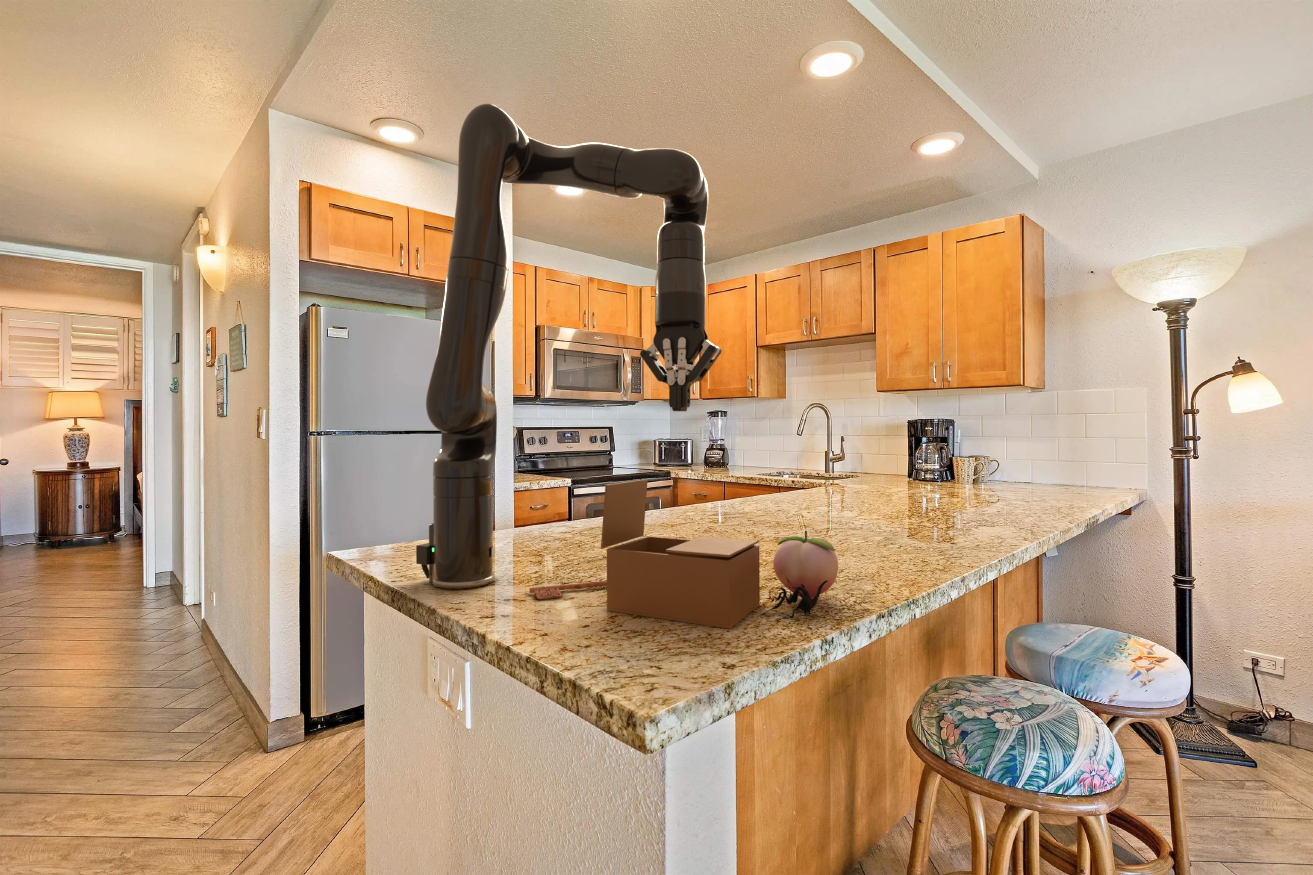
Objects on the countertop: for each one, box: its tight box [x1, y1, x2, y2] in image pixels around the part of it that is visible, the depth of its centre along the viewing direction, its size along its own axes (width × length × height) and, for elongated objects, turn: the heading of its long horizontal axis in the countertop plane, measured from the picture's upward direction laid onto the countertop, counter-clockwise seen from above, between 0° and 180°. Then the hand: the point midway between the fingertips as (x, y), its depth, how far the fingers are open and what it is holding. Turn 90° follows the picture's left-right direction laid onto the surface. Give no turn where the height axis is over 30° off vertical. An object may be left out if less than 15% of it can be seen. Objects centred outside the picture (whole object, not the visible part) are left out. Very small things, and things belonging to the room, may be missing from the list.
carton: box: [600, 478, 761, 630], centre depth 85 cm, size 19×12×17 cm, turn 63°
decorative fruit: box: [772, 530, 839, 599], centre depth 89 cm, size 9×8×10 cm
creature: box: [764, 577, 828, 619], centre depth 82 cm, size 8×5×8 cm
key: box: [528, 579, 607, 600], centre depth 94 cm, size 6×1×15 cm
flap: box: [666, 535, 760, 557], centre depth 83 cm, size 9×12×1 cm
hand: (679, 411), depth 92 cm, fingers closed
